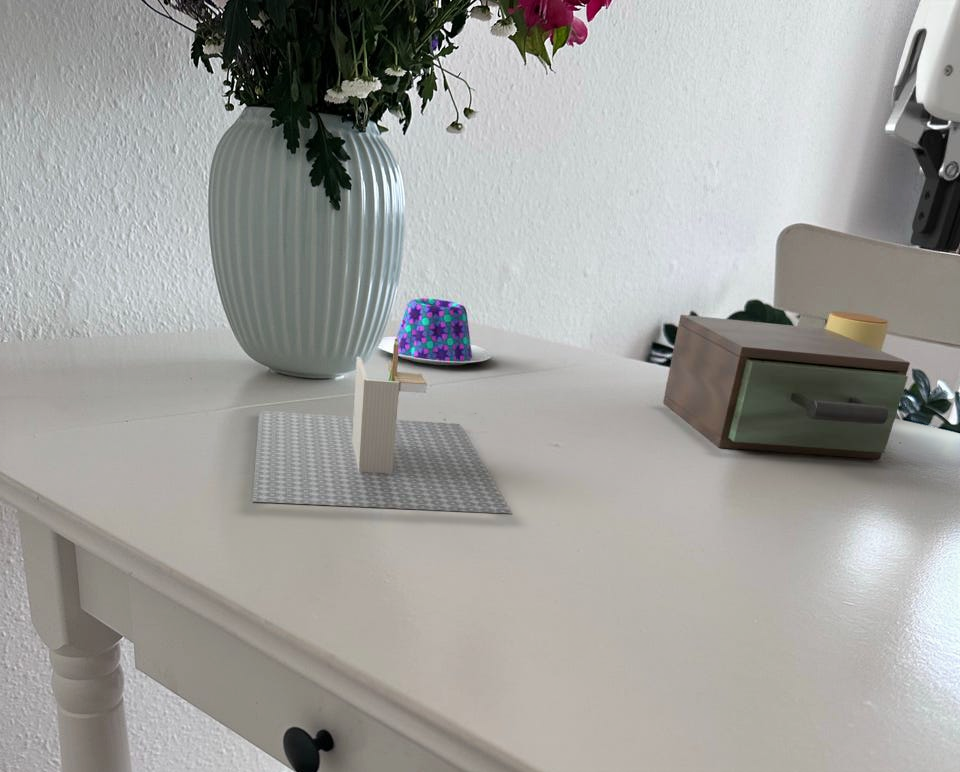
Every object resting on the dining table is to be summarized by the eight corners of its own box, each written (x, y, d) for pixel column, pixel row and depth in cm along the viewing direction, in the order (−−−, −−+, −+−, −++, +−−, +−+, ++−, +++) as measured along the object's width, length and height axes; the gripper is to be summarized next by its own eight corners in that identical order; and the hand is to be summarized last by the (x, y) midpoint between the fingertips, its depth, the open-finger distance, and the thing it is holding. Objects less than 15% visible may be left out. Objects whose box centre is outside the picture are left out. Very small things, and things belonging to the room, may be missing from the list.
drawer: (915, 470, 76) (941, 390, 73) (756, 459, 73) (777, 376, 70) (811, 410, 92) (829, 342, 89) (678, 399, 89) (693, 329, 86)
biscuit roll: (845, 405, 100) (871, 314, 96) (873, 420, 95) (901, 324, 91) (795, 401, 99) (819, 309, 95) (820, 415, 94) (847, 319, 90)
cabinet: (880, 459, 81) (910, 362, 78) (718, 447, 79) (741, 346, 75) (804, 414, 94) (827, 328, 90) (662, 402, 91) (680, 314, 88)
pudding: (436, 341, 106) (441, 291, 104) (514, 365, 99) (521, 313, 97) (350, 346, 98) (352, 292, 96) (428, 373, 91) (433, 316, 89)
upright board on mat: (407, 444, 69) (416, 330, 66) (419, 474, 63) (430, 351, 60) (352, 441, 69) (358, 325, 65) (358, 471, 63) (366, 345, 59)
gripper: (959, -131, 51) (857, 242, 59) (1198, -83, 54) (1069, 266, 62) (885, -102, 57) (804, 230, 66) (1102, -60, 60) (997, 253, 68)
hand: (933, 247), depth 64 cm, fingers closed
